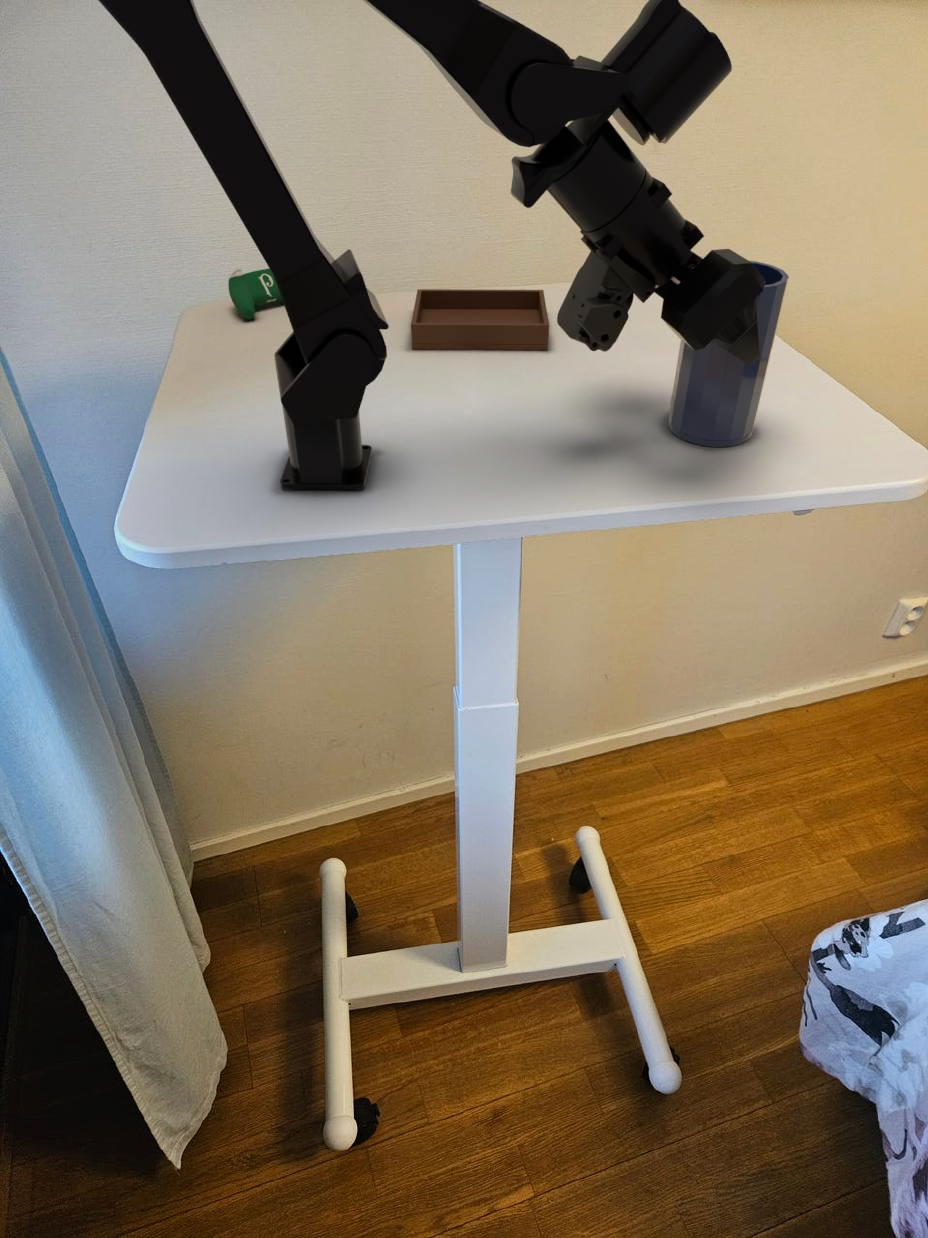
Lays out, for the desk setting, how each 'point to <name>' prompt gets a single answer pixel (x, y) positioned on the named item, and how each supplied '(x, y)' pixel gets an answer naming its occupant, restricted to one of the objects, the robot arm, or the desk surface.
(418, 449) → the desk surface
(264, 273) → the green rounded piece
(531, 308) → the tray
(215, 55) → the robot arm
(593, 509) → the desk surface
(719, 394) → the cup
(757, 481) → the desk surface
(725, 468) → the desk surface
